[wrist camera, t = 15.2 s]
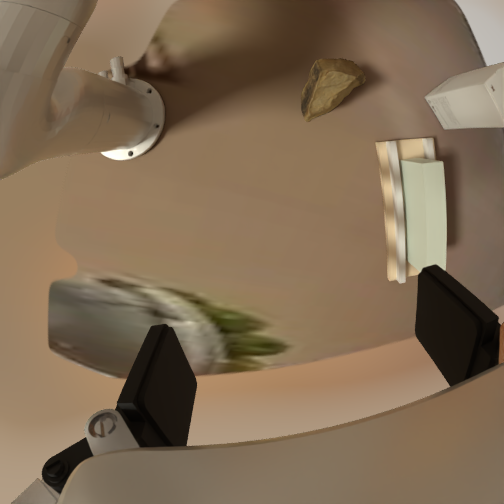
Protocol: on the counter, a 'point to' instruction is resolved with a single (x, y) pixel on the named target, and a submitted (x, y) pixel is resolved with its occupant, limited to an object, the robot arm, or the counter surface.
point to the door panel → (424, 212)
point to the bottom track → (398, 199)
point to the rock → (329, 85)
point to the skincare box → (470, 99)
